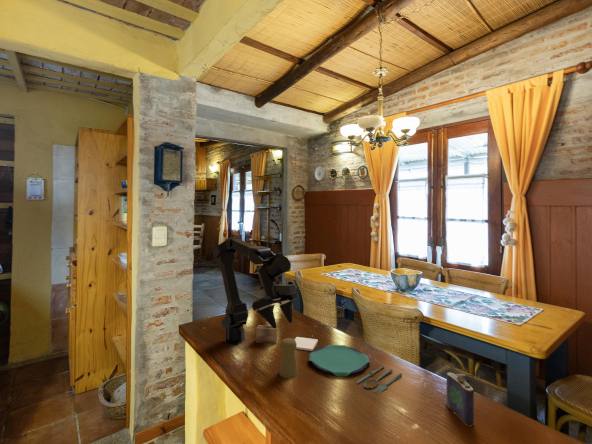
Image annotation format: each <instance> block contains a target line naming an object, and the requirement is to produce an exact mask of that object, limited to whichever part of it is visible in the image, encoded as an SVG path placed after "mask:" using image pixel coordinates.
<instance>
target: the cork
mask: <svg viewBox="0 0 592 444" xmlns="http://www.w3.org/2000/svg"><path fill="white" fill-rule="evenodd" d="M296 345H297V344H296V341H295V338H292V337H287V338H283V339H282V340H281V342H280V349H281V357H280V366H279V373H278V374H279V376H280V377H282V378H286V379H291V378H295V377H297V375H298V373H299V371H298V362H297V356H296V355H297V354H296V350H297V349H296Z"/></svg>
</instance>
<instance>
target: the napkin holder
mask: <svg viewBox="0 0 592 444" xmlns="http://www.w3.org/2000/svg"><path fill="white" fill-rule="evenodd" d="M255 330H256V331H255V333H256V334H255V335H256V336H255V337H256V339H255V342H256V344H271V345H276V344H277V343H278V326H277V325H276V328H273V327H272V326H271V325H259V324H258V325H257V327H256V329H255Z"/></svg>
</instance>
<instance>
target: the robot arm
mask: <svg viewBox="0 0 592 444" xmlns="http://www.w3.org/2000/svg"><path fill="white" fill-rule="evenodd" d="M237 252H238V253H240V254H242V255H245V256H246V257H247V260H248V261H250V262H251V263H252V265H256V268H255V270H254V274H255V275H256V274H258V277H259V280H260V283H261V286H260V291H262V290H263V293H264V295H265V296H263V297H261V298H259V299H256V300H254V301H252V304H251V307H252V310H253V311H256V313H257V314H258V313H259V315H260V316H261V317H262V318H263V319H264V320H265V321H267V323H268V324H269V326H272V327H273V328H276V326H277V322H276V319H275V314H274V308H275V304H278V303H279V308H280V310H281V311H282V313H283V315H284V317H285V318H286V320H287V322H288V323H289V324H292V323H293V305H294V304H295V302H296V300H297V299H298V296H297V293H296V290H298V286H297V284H296V282H295V281H294V280H289V281H288V282H287V283H286V284H283V282H282V281H281V280H278V277H280V276H282V275H284V274H286V273H287V272H289V271H290V270H291V268H292V264H291V263H292V262H291V261H290V259H289V258H288V257H286V256H285V255H284V254H283V252H277V253H274V252H273V251H272V249H271V247H268V246H262V245H259V246H257V245H254V244H252V243H249V242H247V241H244V240H242V239H240V238H239V237H237V236H236V237H227V238H226V239H225V240H224V241H223V242H221V243H219V244H218V245H216V246H215V247H214V249H213V250H212V257H213V259H214V262H215V264H216V265H217V266H218V267H219V268H220V271H221V276H222V281H223V286H224V290H225V295H226V300H227V305H226V308H225V310H224V311H225V312H224V313H225V317H224V318H223V319H222V320H221V327H222V328H224V329H225V339H224V340H223V343H225V344H230V345H239V344H240V343H242V342H243V341H244V340H245V339H246V337H245V329H244V326H245V325H247V322H248V318H249V311H248V307H247V303H246V302H243V301H242V300H241V298H240V292H239V289H238V288H239V287H238V283H237V280H236V274H235V270H234V265H233V264H234V261H235V259H236V257H235V254H237Z"/></svg>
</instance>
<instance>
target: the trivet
mask: <svg viewBox="0 0 592 444" xmlns="http://www.w3.org/2000/svg"><path fill="white" fill-rule="evenodd" d="M294 340H295V341H296V344H297V345H296V349H295V350H301V351H303V350H304V351H309V352H313V350H314V349H315V347H316V346H317V344H318V342H319V339H316V338H310V337H301V336H300V337H299V336H296V337H295V338H294Z"/></svg>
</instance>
